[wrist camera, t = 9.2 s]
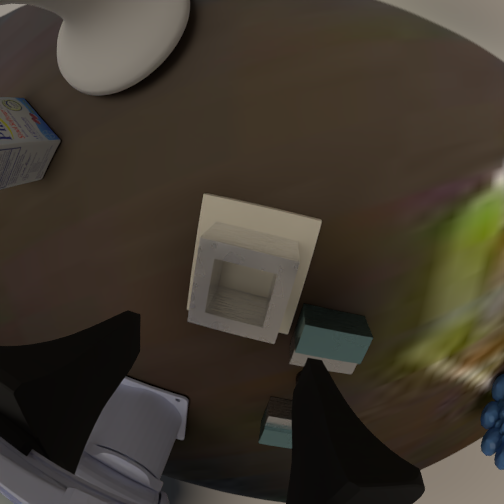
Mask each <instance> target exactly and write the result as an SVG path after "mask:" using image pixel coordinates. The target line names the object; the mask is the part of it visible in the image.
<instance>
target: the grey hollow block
mask: <svg viewBox="0 0 504 504" xmlns="http://www.w3.org/2000/svg"><path fill="white" fill-rule="evenodd" d="M224 261H226V262H230V263H234V264H238V265H242V266H246V267H250V268H254V269H258V270H262V271H266V272H270V273H274V275H273V279H272V283H271V286H270V290H269V294H268V297H263V296H259V295H255V294H251V293H247V292H243V291H239V290H235V289H231V288H227V287H223V286H219V282H220V277H221V272H222V267H223V262H224ZM299 264H300V257H299V246H298V241H295V240H291V239H287V238H283V237H279V236H275V235H271V234H267V233H263V232H259V231H255V230H251V229H246V228H242V227H238V226H234V225H230V224H226V223H221V222H217V221H216V222H215V223H214V224H213V225H212V226H211V227H210V228H209V229H208V230H207V231H206V232H205V233H204V234H203V235H202V236H201V237H200V241H199V247H198V253H197V259H196V265H195V272H194V278H193V285H192V292H191V299H190V306H189V313H188V322H191V323H195V324H198V325H202V326H205V327H209V328H212V329H216V330H220V331H224V332H227V333H231V334H235V335H239V336H243V337H247V338H251V339H255V340H259V341H263V342H268V343H272V344H275V341H276V338H277V335H278V332H279V329H280V326H281V323H282V319H283V316H284V313H285V310H286V307H287V304H288V300H289V297H290V294H291V291H292V287H293V284H294V281H295V277H296V274H297V271H298V267H299Z"/></svg>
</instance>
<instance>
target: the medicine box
mask: <svg viewBox="0 0 504 504" xmlns="http://www.w3.org/2000/svg"><path fill="white" fill-rule="evenodd" d="M59 143H60V139H59V138H58V136H57V135H56V134H55V133H54V132H53V131H52V130H51V129H50V128H49V127H48V125H47V124H46V123H45V122H44V121H43V120H42V119H41V117H40V116H39V115H38V114H37V113H36V112H35V110H34V109H33V108H32V107H31V106H30V105H29V103H28V102H27V101H26V100H25V99H24V98H11V97H0V190H1V189H4V188H8V187H12V186H16V185H20V184H24V183H28V182H33V181H37V180H41V179H42V178H43V176H44V174H45V171H46V169H47V167H48V165H49V163H50V161H51V159H52V157H53V155H54V153H55V151H56V149H57V147H58V145H59Z"/></svg>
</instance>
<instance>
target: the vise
mask: <svg viewBox="0 0 504 504" xmlns="http://www.w3.org/2000/svg"><path fill="white" fill-rule="evenodd" d="M372 339H373V336H372V334H371V331H370V329H369V326H368V324H367V321H366V319H365V316H361V315H356V314H351V313H346V312H341V311H336V310H332V309H327V308H322V307H318V306H313V305H309V304H303V307H302V310H301V313H300V316H299V319H298V322H297V325H296V328H295V331H294V334H293V337H292V340H291V343H290V360H289V364H293V365H298V366H304V365H305V363H306V361H307V358H313V359H319V360H322V361H323V363H324V365H325V367H326V368H327V370H328V371H332V372H339V373H345V374H352V373H353V371H354V369H355V367H356V365H357V364H360V363H361V362H362V360H363V358H364V356H365V354H366V352H367V349H368V347H369V345H370V343H371V341H372ZM301 373H302V371H301V372H299V373H298V374H297V376H296V385H297V382H298V380H299V377H300V375H301ZM291 411H292V400H286V399H281V398H276V397H270V400H269V403H268V405H267V408H266V410H265V413H264V415H263V418H262V420H261V427H260V435H259V442H258V443H260V444H266V445H272V446H278V447H284V448H291V449H292V416H291Z"/></svg>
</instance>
